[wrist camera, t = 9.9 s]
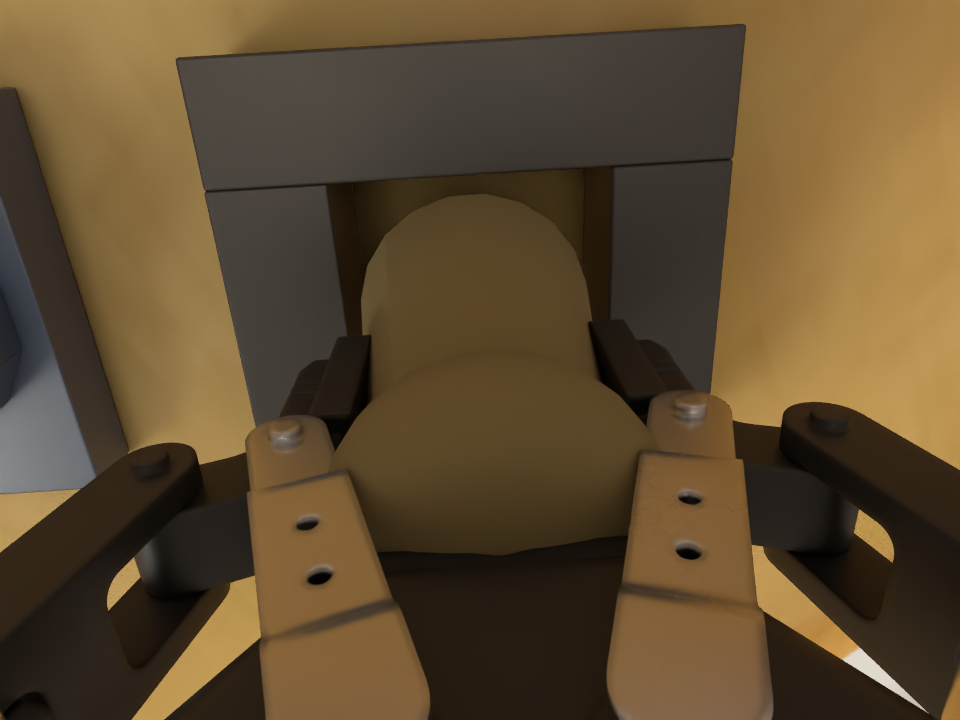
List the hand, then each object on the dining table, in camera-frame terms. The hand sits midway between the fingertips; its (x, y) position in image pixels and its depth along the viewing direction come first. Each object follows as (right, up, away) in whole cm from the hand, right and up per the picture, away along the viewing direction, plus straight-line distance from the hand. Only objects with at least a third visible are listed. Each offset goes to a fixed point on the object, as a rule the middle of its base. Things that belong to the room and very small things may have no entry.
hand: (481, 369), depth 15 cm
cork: (0, +2, +4) cm, 4 cm away
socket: (0, +3, +7) cm, 8 cm away
